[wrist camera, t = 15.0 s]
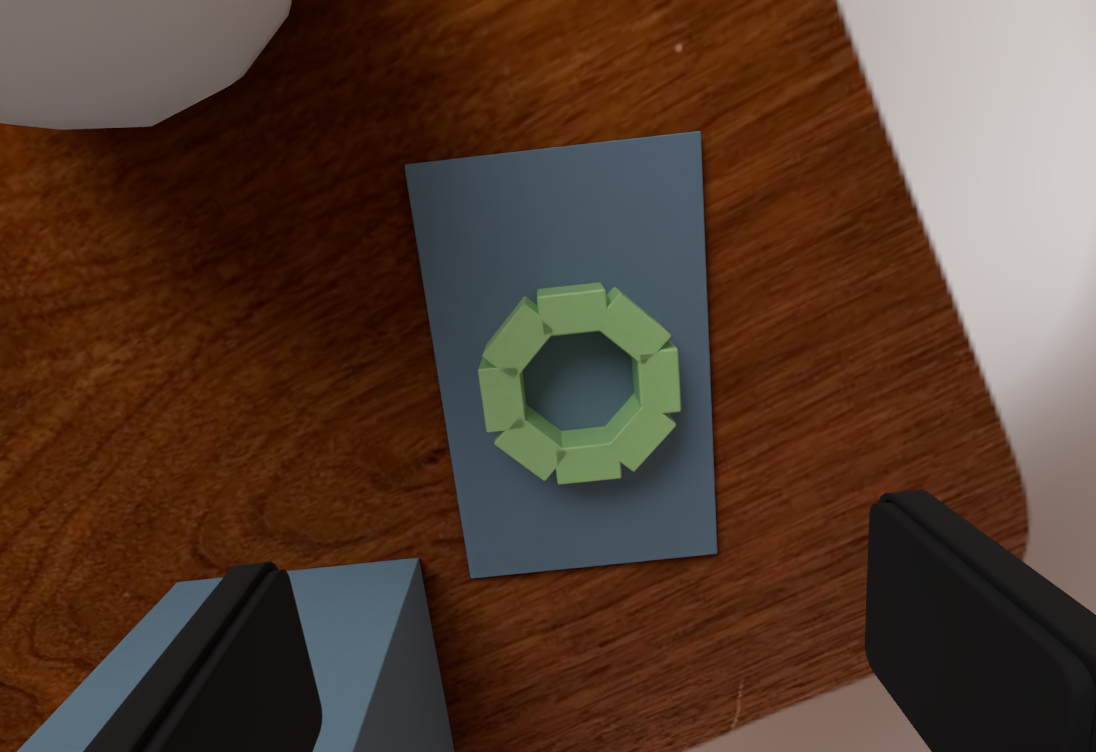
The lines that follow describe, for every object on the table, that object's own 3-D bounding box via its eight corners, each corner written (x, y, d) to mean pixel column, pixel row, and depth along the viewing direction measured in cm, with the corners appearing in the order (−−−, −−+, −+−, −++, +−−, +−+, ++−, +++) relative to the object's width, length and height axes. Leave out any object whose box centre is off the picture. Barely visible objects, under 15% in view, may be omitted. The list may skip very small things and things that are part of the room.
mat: (471, 573, 26) (470, 579, 26) (406, 165, 22) (403, 164, 21) (714, 548, 26) (717, 554, 25) (698, 132, 21) (701, 131, 21)
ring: (498, 471, 24) (494, 492, 23) (473, 295, 22) (468, 303, 21) (674, 452, 24) (685, 472, 22) (664, 274, 22) (675, 281, 21)
